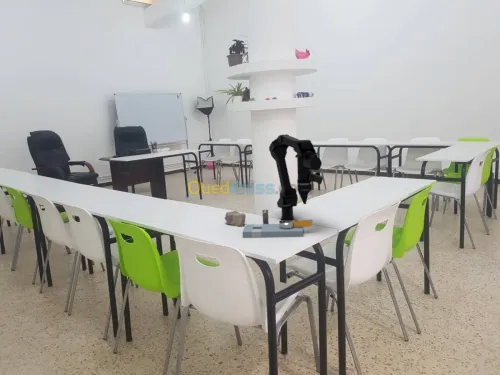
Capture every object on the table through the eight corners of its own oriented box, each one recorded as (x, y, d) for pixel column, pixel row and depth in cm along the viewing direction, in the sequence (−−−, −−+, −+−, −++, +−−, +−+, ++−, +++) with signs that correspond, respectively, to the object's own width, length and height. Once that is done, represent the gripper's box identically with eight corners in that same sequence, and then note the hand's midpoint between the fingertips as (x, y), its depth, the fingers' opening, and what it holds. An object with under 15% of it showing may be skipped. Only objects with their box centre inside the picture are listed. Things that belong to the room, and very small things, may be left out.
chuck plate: (246, 229, 180) (245, 224, 180) (302, 228, 177) (302, 223, 177) (242, 237, 169) (242, 232, 168) (303, 236, 166) (303, 231, 165)
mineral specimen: (251, 223, 190) (251, 211, 189) (243, 227, 184) (242, 214, 183) (231, 220, 197) (231, 208, 196) (222, 224, 192) (221, 211, 191)
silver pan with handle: (279, 224, 175) (279, 219, 175) (311, 224, 174) (311, 218, 173) (279, 228, 169) (279, 223, 169) (312, 228, 167) (312, 222, 167)
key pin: (263, 226, 185) (262, 209, 183) (268, 225, 184) (268, 209, 183) (262, 227, 182) (262, 211, 181) (268, 227, 182) (267, 210, 180)
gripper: (323, 170, 165) (323, 206, 168) (320, 164, 183) (321, 197, 186) (297, 171, 166) (297, 206, 169) (296, 165, 185) (297, 197, 187)
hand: (304, 201), depth 178 cm, fingers open, 9 cm apart
